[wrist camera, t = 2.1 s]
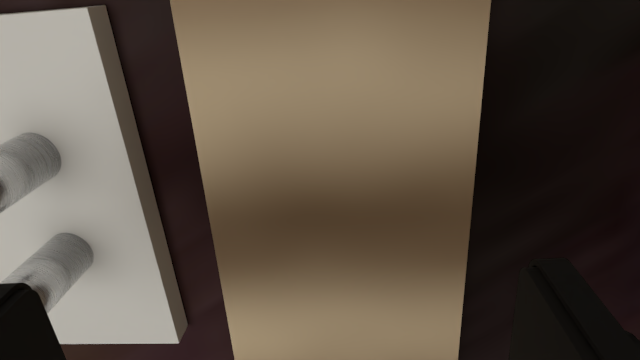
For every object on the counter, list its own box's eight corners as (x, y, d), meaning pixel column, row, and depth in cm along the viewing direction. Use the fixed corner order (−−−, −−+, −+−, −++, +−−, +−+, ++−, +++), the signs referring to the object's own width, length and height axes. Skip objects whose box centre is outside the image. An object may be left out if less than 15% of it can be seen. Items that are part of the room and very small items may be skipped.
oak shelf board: (197, -130, 12) (139, -165, 9) (467, -153, 11) (509, -199, 8) (267, 369, 20) (250, 446, 16) (433, 372, 19) (449, 453, 16)
